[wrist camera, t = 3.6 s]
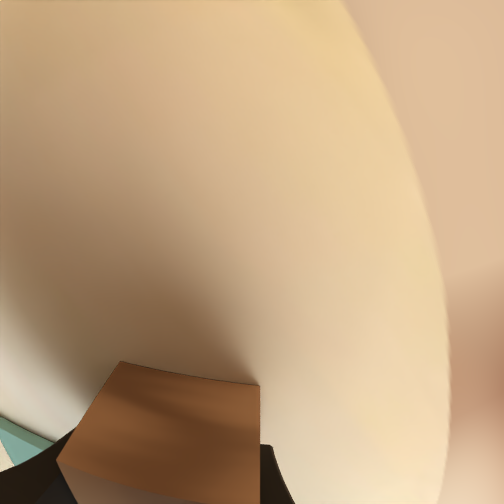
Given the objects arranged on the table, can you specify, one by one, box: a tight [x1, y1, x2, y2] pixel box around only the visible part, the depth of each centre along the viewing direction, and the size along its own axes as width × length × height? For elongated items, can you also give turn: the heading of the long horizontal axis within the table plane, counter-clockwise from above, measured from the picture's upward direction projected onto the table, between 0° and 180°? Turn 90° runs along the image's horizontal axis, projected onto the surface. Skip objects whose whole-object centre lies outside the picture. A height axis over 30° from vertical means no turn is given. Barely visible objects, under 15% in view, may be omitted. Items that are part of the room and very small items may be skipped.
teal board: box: [0, 416, 54, 466], centre depth 13 cm, size 11×11×1 cm
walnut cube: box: [56, 361, 260, 504], centre depth 8 cm, size 5×5×5 cm
